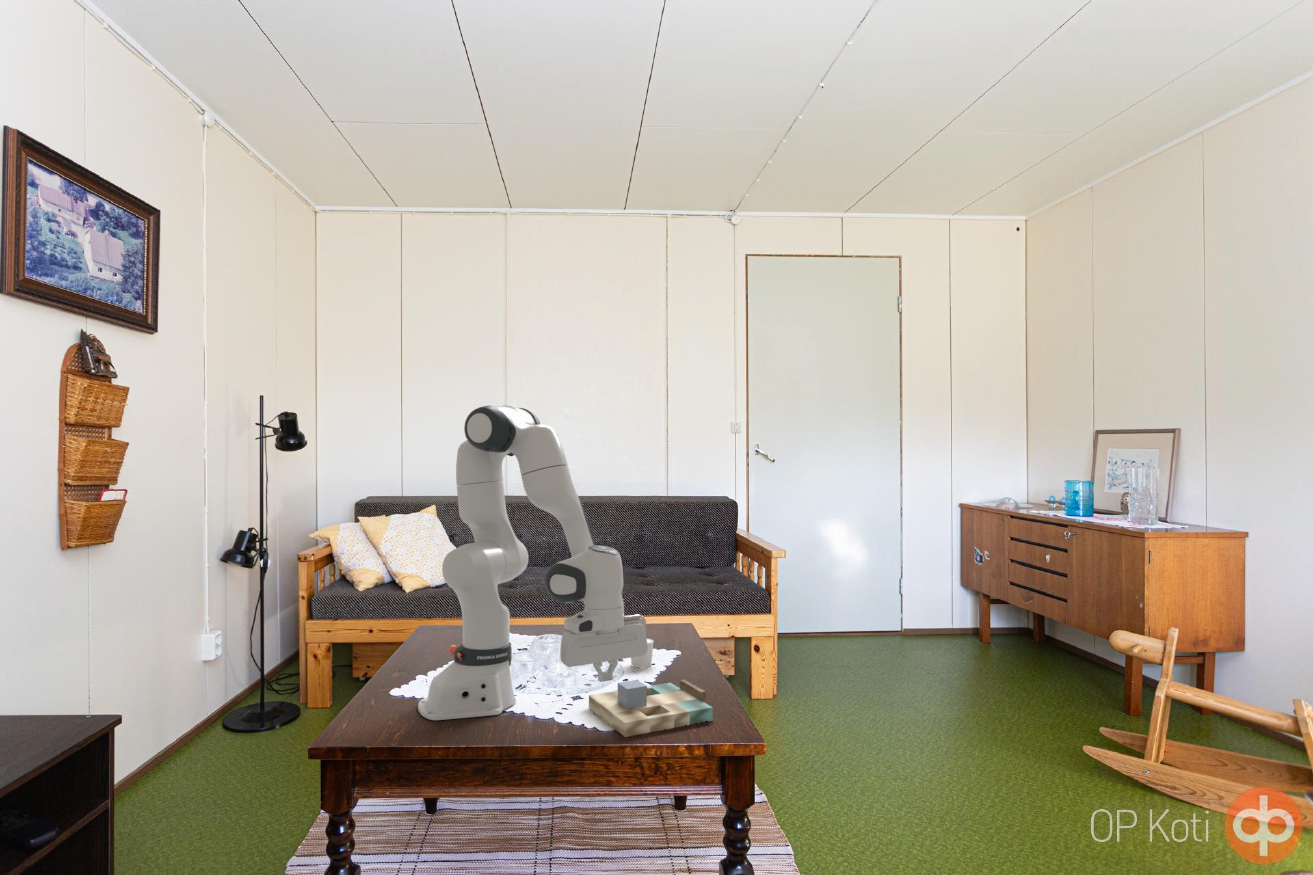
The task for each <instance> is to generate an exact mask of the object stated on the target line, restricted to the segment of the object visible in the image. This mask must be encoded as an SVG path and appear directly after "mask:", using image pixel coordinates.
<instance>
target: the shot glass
mask: <svg viewBox="0 0 1313 875" xmlns="http://www.w3.org/2000/svg"><path fill="white" fill-rule="evenodd" d="M654 642H655V640H654V639H651V638H648V637H647V645H648V651H647V653H646V654H645V655H644V656H637V657H631V658H630V662H631V666H632V665H633V666H636V667H648V666H650V665H651V666H652V660H653V650H654ZM633 666H632V667H633ZM651 666H650V667H651ZM648 668H649V667H648Z"/></svg>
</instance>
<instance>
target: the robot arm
mask: <svg viewBox="0 0 1313 875" xmlns="http://www.w3.org/2000/svg"><path fill="white" fill-rule="evenodd" d="M463 426H464V427H463V428H464V435H465V438H466V440H464V441H462V443H461V444H459V446H458V448H457V454H456V462H455V464H456V466H455V468H456V469H455V476H456V477H455V478H456V479H455V480H456V481H455V482H456V490H457V491H456V492H457V503H458V504H457V506H458V513H459V514H458V515H459V518H460V519H461V521H462V522H463V523H465V524H466V525H467V526H468V528H469V529H470V531H471V534H472V535H473V536H472V537H473V538H474V542H470V543H465V544H463V545H460V546H458V547H456V548H454V549H453V550H451V551H449V552H448V553H447V554H446V556H444V558H443V562H442V566H441V572H442V577H443V580H444V581H445V584H447V585H448V586H449V587H450V589H452V590H453V591H454V593H455V595H456V597H457V599H458V602H459V605H460V610H461V614H462V615H461V617H462V618H461V619H462V643H461V644H460V645H459V646H458V647H457V646H456V645H455V644H451V645H449V647H448V652H449V653H450V654H451V655H452V656H453V662H451V663H450V664H449V665H448V666H447V667H445V669H443V670H442V671H441V672H440V673H438V674H437V675H436V676H434V677H433V679H432V680H431V682H430V685H429V688H428V692H427V694H428V695H427V697H424V698H422V699H420V700H419V702H418V705H417V710H418V712H419V714H420V715H421V716H422V717H424V718H425V719H427V720H431V721H442V720H444V721H445V720H453V719H456V720H457V719H466V718H476V717H477V718H479V717H486V716H496V715H499V714H501V713H503V711H504V710H506V709H508V708H510V707H512V706H513V705H514V704H515V703H516V697H515V693H514V690H513V684H512V675H511V665H512V657H513V656H512V655H513V652H512V643H511V641H510V634H511V633H510V628H511V627H510V621H511V620H510V619H511V618H510V617H511V614H510V609H509V608H508V606H506V604H504V603H502V600H501V599H500V594H499V589H498V588H499V587H498V585H500V584H503V583H507V582H510V581H512V580H514V579H515V578H517V577H519V576H520V575H521V574H522V573H524V571H525V570H526V568H528V564H529V552H528V550H527V547H526V545H524V543H523V542H522V541H520V540H519V539H518V537H517V536H516V533H515V532H514V529H513V528H512V525H511V522H510V519H509V516H508V512H507V504H506V496H505V495H506V494H505V488H504V487H505V486H504V479H503V478H504V477H503V468H502V467H503V461H504V459H505V458H506V456H508V457H513V456H515V457H516V460H517V462H518V467H519V470H520V471H519V472H520V476H521V481H522V484H523V489H524V492H525V495H526V497H527V498H528V500H529V501H530V503H531V504H532V505H534V506H535V508H536V507H537V508H538V509H539V510H542V511H545V512H547V513H548V514H550V515H552V516H553V517H555V518H556V520H558V522H559V523H560V524H561V525H560V526H562V529H563V533H564V536H565V538H566V541H567V545H568V548H569V551H570V553H571V557H570V558H567V559H564V560H560V561H558V562H556V563H554V564H553V565H551V566H549V568H548V570H547V571H546V573H545V577H544V587H545V590H546V592H547V594H548V595H549V597H550V598H551V599H552V600H553V601H554V602H557V603H559V604H560V603H561V604H562V603H563V604H570V603H574V602H578V601H579V602H580V601H581V602H583V603H584V610H581V611H580V612H578V613H575V614H574V615H572V616H569V617H567V618H565V619H564V622H563V626H564V628H565V630H564V632H563V633H562V637H561V639H560V650H559V651H560V657H559V658H560V662H561V663H562V664H563V665H564V666H566V667H568V668H572V667H573V668H574V667H578V666H586V665H592V666H593V668H594V669H595V671H596V673H597V681H598V682H600V683H603V682H609V681H610V682H611V681H614V672H615V670H616V669H617V666H618V660H623V659H625V660H626V659H629V658H630V659H631V657H637V656H644V655H645V654H646V653H647V651H648V645H647V638H648V637H647V633H646V630H647V620H646V618H645V617H644V616H643V615H641V614H634V615H625V604H624V599H623V589H624V572H623V570H624V569H623V562H622V557H621V555H620V552H619V551H618V550H617V549H616V548H613V547H610V546H607V545H597V544H596V542H595V538H594V536H593V532H592V529H591V527H590V524H589V519H588V518H587V515H586V512H585V508H584V506H583V503H582V501H581V499H580V497H579V495H578V494H577V491H576V488H575V486H574V484H573V480H572V477H571V472H570V470H569V465H568V461H567V458H566V457H567V456H566V454H565V451H564V448H563V445H562V443H561V441H560V437H559V435H558V434H557V432H556V429H555V428H553V427H552V426H550V425H547V424H543V423H541V422H540V420H539V418H538V416H537V415H536V414H535V413H533V412H532V411H530V410H529V409H527V408H523V407H515V406H511V405H484V406H480V407H477V408H476V409H474V410H472V411H471V412H470V413H469V414H468V415H467V417H466V420H465V421H464V425H463ZM604 662H607V663H608V667H607V670H605V671H603V670H602V667H603V663H604Z"/></svg>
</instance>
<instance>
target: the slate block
mask: <svg viewBox="0 0 1313 875" xmlns="http://www.w3.org/2000/svg"><path fill="white" fill-rule="evenodd" d="M647 686H648V685H646V684H644V683H643V682H641V681H640V680H638V679H635V680H628V681H620V682H617V691H618V703H619V704H620V705H622V706H623V707H625V708H626V709H631V708H637V707H643V706H647Z"/></svg>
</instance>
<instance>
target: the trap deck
mask: <svg viewBox="0 0 1313 875" xmlns="http://www.w3.org/2000/svg"><path fill="white" fill-rule="evenodd" d="M646 686H647V706H643V707H637V708H631V709H626V708H625V707H623V706H622V705H620V704H619V703H618V690H613V691H608V692H601V693H594V694H590V695H588V709H589V708H590V710H591V711H592V710H593V711H594V712H595V713H594V712H593V711H592V712H593V713H594V714H595V715H597V714H598V715H599V716H600V717H599V716H598V715H597V716H598V717H599V718H601V719H602V720H603V719H604V720H605V723H607V724H608V723H609V724H608V725H609V726H610V727H612V728H613V729H614V730H616V731H617V732H618V733H620V734H621V735H622V736H623V737H625V738H628V737H633V736H638V735H644V734H648V733H655V732H659V731H664V729H665V730H670V729H675V727H676V728H681V727H685V725H687V726H691V725H690V724H692V725H695V724H694V723H697V724H702V723H701V722H703V723H706V722H705V721H708V722H712V721H713V720H714V719H713V712H714V711H713V710H714V708H713V706H711V705H709V704H708V703H707V700H706V699H707V698H706V695H707V694H706V693H707V692H706V690H704V689H702V688H701V687H698V686H697V685H695V684H693V683H691V682H690V681H688V680H687V679H680V680H679V686H677V685H676V684H674V683H672V682H666V683H665V682H664V683H659V684H653V685H646ZM604 720H603V721H604Z"/></svg>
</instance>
